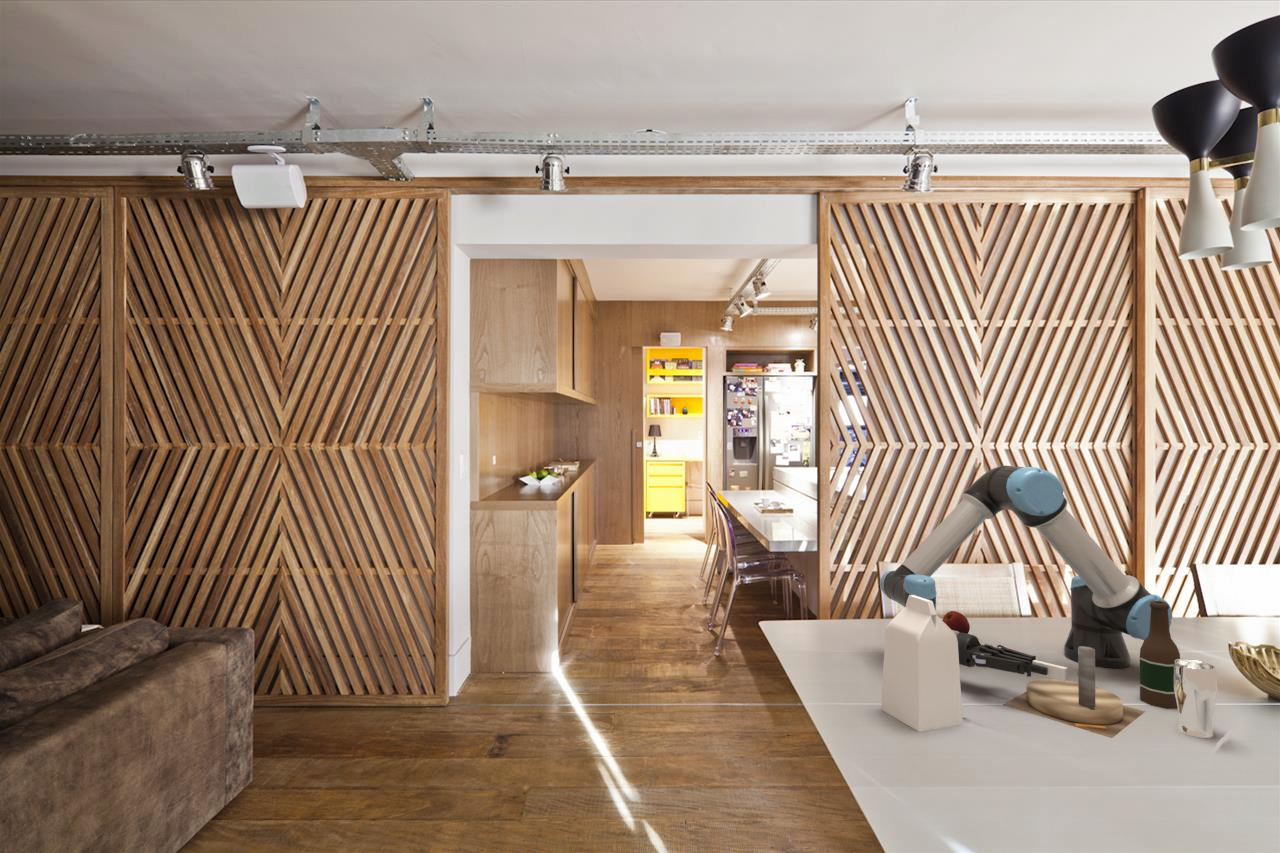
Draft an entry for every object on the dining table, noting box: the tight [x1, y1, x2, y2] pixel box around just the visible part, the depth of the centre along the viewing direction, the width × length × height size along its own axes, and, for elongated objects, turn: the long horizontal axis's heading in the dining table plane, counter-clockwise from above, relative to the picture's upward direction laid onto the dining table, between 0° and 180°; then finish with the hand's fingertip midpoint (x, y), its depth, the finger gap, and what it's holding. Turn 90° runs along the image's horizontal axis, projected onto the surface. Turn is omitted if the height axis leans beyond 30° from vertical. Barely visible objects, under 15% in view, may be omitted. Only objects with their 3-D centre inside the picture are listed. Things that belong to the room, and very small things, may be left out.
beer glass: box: [1173, 658, 1218, 739], centre depth 137 cm, size 7×7×15 cm
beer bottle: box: [1139, 601, 1181, 710], centre depth 152 cm, size 8×8×24 cm
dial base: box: [1002, 691, 1146, 739], centre depth 148 cm, size 21×21×2 cm
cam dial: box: [1025, 646, 1124, 724], centre depth 148 cm, size 18×18×15 cm
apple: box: [941, 610, 971, 634], centre depth 205 cm, size 7×8×8 cm
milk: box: [880, 595, 964, 732], centre depth 147 cm, size 12×12×26 cm
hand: (1066, 674), depth 144 cm, fingers closed
